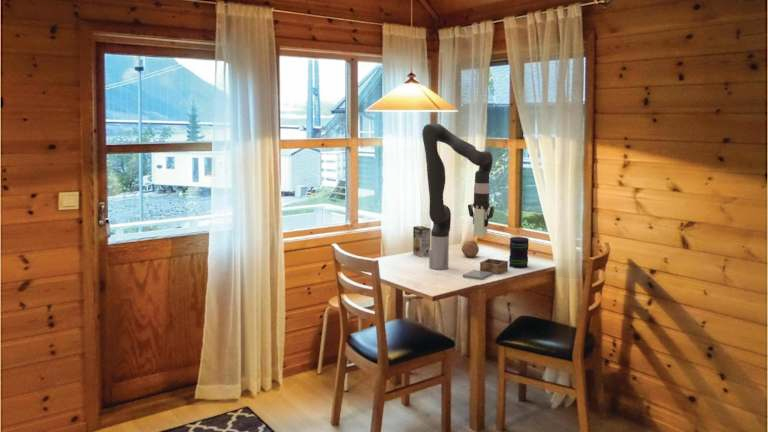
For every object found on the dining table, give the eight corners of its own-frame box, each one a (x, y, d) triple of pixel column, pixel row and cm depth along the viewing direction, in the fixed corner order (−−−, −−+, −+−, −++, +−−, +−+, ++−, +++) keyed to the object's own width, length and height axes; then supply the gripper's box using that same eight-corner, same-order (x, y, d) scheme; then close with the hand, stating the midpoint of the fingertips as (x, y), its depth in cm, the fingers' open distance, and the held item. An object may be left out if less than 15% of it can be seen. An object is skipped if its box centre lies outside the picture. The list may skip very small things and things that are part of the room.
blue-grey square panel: (462, 277, 328) (462, 274, 328) (474, 272, 339) (474, 269, 338) (481, 279, 323) (481, 277, 323) (491, 274, 333) (492, 272, 333)
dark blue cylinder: (531, 266, 352) (532, 238, 350) (520, 269, 345) (521, 241, 343) (516, 263, 359) (517, 236, 357) (505, 265, 353) (506, 238, 351)
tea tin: (473, 235, 328) (474, 208, 326) (477, 234, 332) (478, 207, 330) (482, 237, 325) (483, 209, 323) (487, 235, 330) (488, 208, 327)
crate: (480, 271, 339) (480, 262, 339) (488, 267, 348) (489, 258, 347) (499, 274, 334) (499, 264, 333) (507, 270, 342) (507, 261, 341)
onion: (474, 260, 379) (481, 244, 379) (475, 259, 369) (481, 243, 370) (459, 254, 380) (465, 238, 381) (459, 253, 371) (466, 236, 371)
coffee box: (412, 254, 382) (412, 226, 380) (422, 253, 385) (422, 225, 383) (420, 257, 374) (421, 229, 372) (430, 256, 377) (430, 228, 375)
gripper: (465, 191, 326) (464, 225, 329) (492, 193, 318) (490, 228, 321) (471, 190, 332) (470, 223, 335) (498, 192, 325) (497, 226, 327)
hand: (480, 225), depth 328 cm, fingers closed on tea tin, 5 cm apart
